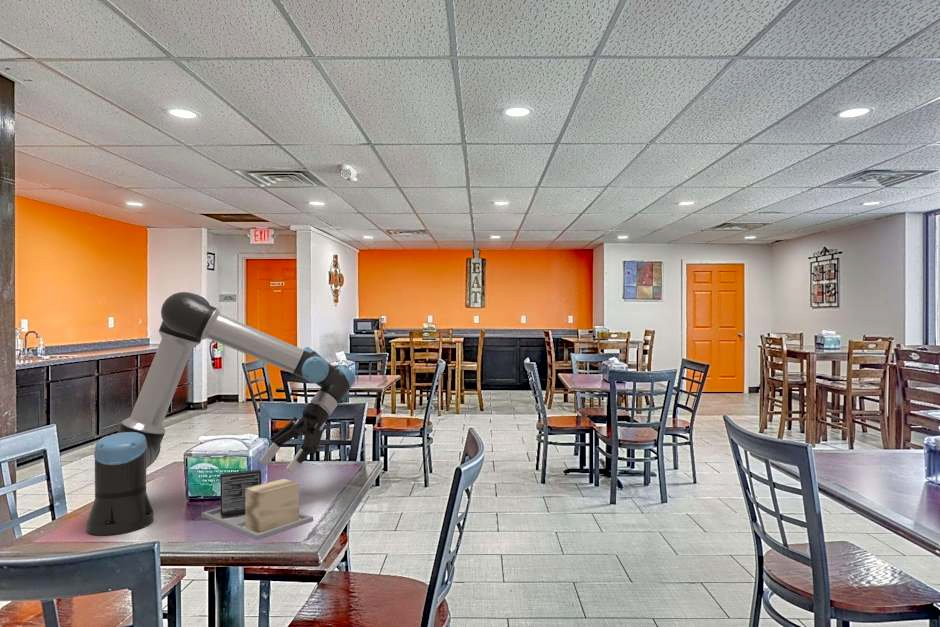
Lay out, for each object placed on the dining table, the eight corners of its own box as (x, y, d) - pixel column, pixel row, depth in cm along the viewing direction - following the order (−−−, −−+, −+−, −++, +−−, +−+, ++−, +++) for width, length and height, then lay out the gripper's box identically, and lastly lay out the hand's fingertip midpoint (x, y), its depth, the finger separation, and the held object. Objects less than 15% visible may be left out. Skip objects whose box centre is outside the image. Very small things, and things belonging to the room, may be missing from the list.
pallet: (201, 522, 153) (201, 512, 153) (255, 506, 165) (255, 497, 165) (257, 546, 136) (257, 535, 136) (313, 526, 148) (313, 517, 148)
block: (245, 528, 144) (245, 488, 144) (283, 516, 152) (283, 478, 152) (260, 534, 139) (260, 493, 140) (299, 521, 148) (299, 483, 148)
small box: (261, 506, 160) (261, 468, 162) (262, 509, 154) (262, 470, 156) (220, 512, 156) (220, 472, 158) (220, 515, 150) (220, 474, 152)
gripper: (352, 421, 171) (309, 482, 158) (302, 412, 186) (259, 467, 174) (338, 405, 166) (293, 466, 154) (288, 398, 182) (244, 453, 170)
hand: (275, 467), depth 164 cm, fingers open, 13 cm apart
